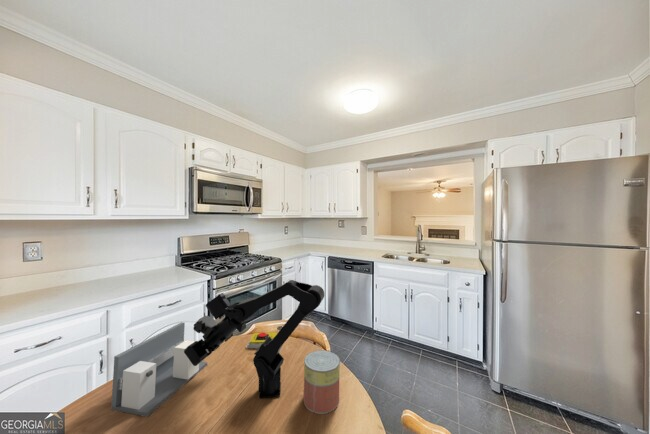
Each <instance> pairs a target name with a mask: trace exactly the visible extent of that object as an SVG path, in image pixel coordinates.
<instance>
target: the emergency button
mask: <svg viewBox="0 0 650 434" xmlns="http://www.w3.org/2000/svg"><path fill="white" fill-rule="evenodd" d="M277 333H278V332H254V333H253V334H252V335H251V337H250V339H251V340H250V339H249V340H250V342H249V341H248V342H247V344H246V346H245V349H247V348H254V349H259V348H260V346H261V345H262V344H263V342H264V341H265V340H266V339H267V338H268V337H269V336H270V337H271V339H273V338H274V337H275V336H276V335H277ZM248 344H249V345H248Z"/></svg>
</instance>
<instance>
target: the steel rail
mask: <svg viewBox="0 0 650 434" xmlns="http://www.w3.org/2000/svg"><path fill="white" fill-rule="evenodd" d="M184 341H185V340H184ZM184 341H181V342H179V343H177V344H176V345H174V346H172V347H171V348H169V349H167V350H166V351H164V352H163V353H161V354H159V355H158V356H156V357H154V358H153V359H151V360H149V361H148V362H151V363H156V367H157V366H159V365H160V364H162V363H163V362H165V361H166V360H168V359H169V358H171V357H172V356H174V347H176V346H177V345H179V344H181V343H182V342H184ZM122 384H123V377H122V378H120V379H119V389H118V390H122Z"/></svg>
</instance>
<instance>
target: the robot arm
mask: <svg viewBox="0 0 650 434" xmlns="http://www.w3.org/2000/svg"><path fill="white" fill-rule="evenodd" d="M287 296H289V297H291V298H293V299H294V300H296V301H297V302H299V304H298V306H297V308H296V309H295V311H294V312H293V313H292V315H291V316H290V317H289V318H288V320H287V321H285V323H284V324H283V326H282V327H281V328H280V330H279V331H278V332H276V333H277V335H276V336H275V337H274V338H273V339H271V337H270V336H269V337H268V338H267V339H266V340H265V341H264V342H263V344H262V345H261V346H260V348H257V350H256V351H255V352H254V353H253V354H254V357H253V359H252V362H253V366H254V367H255V371H256V373H257V377H258V391H257V392H258V393H259V399H267V398H276V397H280V396H281V392H282V391H281V390H282V389H281V388H282V387H281V386H282V383H281V382H282V381H281V378H282V377H281V375H282V373H281V371H282V365H283V364H284V360H285V358H284V357H283V356H282V355H281V354H280V351H281V349H282V346H283V345H284V344H285V343H286V341H287V340H288V339H289V337H290V336H292V334H293V333H294V331H295V330H296V329H297V327H298V326H299V325H300V324H301V323H302V321H303V320H304V319H305V318H306V317H307V316H308V315H310V314H311V313H312V312H314V311H315V310H316V309H317V308H318V307H319V306H321V305H320V304H322V301H323V300H324V298H325V290H324V288H323V287H321V286H320V285H317V284H314V285H312V284H309V283H305V282H301V281H298V280H297V281H296V280H294V279H289V280H287V282H284V283H283V284H281V285H279V286H277V287H275V288H274V289H271V290H269V291H268V292H266V293H264V294H262V295H258V296H253V297H250V298H247V299H244V300H243V301H237V302H234V303H232V304H231V302H230V301H229V300H228V298H227V296H226V295H225V294H224V292H222V293H219V294H218V295H217V296H215V297H214V298H212V299H211V300H209V301H208V302H207V303H206V304H205V308H207V310H208V312H209V313H210V314H211V315H212V317H213V318H212V317H211V316H209V315H204V316H202V317H200V318H199V319H198V320H197V321H196V322H195V323H194V324H193V330H194V331H195V332H196V333H198V334H200V333H201V334H203V335H202V338H200V339H199V340H195V341H194V343H192V344H191V345H189V346H188V347H187V348H186V349H185V350H184V353H185V354H186V356H187V357H188V359H189V360H190V361H191V363H192V364H193V366H197V365H198V364H199V363H200V362H204V360H205V359H206V358H207V357H208V356H210V355H211V354H212V353H213V352H214V351H216V350H218V349H219V348H220V346H221V345H222V344H223V343H224V342H225V343H226V342H228V341H229V340H231V338H233V334H234V332H235V331H236V330H237V332H239V333H242V332H243V331H244V330H245V329H247V324H246V323H247V321H246V320H247V319H249V318H250V317H252V315H255V313H257V312H258V311H259V310H261V309H262V308H265V307H267V306H269V305H271V304H273V303H274V302H277V301H278V300H280V299H283V298H285V297H287ZM223 317H224V318H223ZM218 319H219V320H220V321H219V322H217V321H216V320H218ZM221 319H222V320H221Z"/></svg>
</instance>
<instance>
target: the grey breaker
mask: <svg viewBox="0 0 650 434" xmlns="http://www.w3.org/2000/svg"><path fill="white" fill-rule="evenodd" d="M155 379H156V363H151V362H144V361H139V362H137V363H136V364H134V365H132V366H131V367H129V368H127V369H125V370H124V371H123V384H122V401H121V406H122V407H127V408H132V409H138V410H139V409H140V408H141V407H143V406H144V405H145V404H146V403H148V402H149V401H150V400H151V399H153V398H154V397H155Z"/></svg>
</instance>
